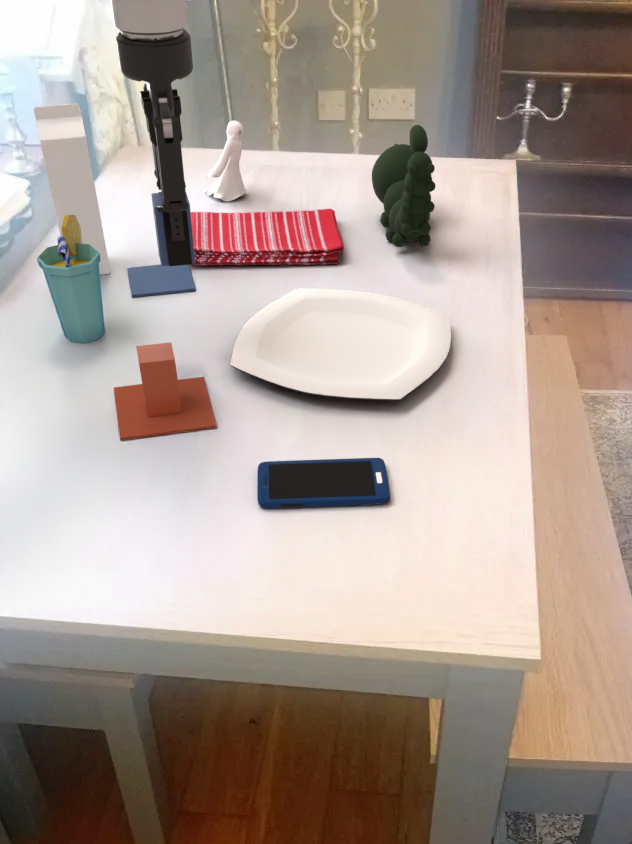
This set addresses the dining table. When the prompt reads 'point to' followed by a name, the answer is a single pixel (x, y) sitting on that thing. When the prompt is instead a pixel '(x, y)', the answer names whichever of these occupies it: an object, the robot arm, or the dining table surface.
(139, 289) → the blue mat
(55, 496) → the dining table surface
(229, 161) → the figurine
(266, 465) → the cell phone
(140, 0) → the robot arm
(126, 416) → the terracotta mat
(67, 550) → the dining table surface
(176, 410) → the terracotta block
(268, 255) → the dish towel
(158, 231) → the blue block
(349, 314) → the plate
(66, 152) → the milk
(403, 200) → the toy figurine
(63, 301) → the cup
